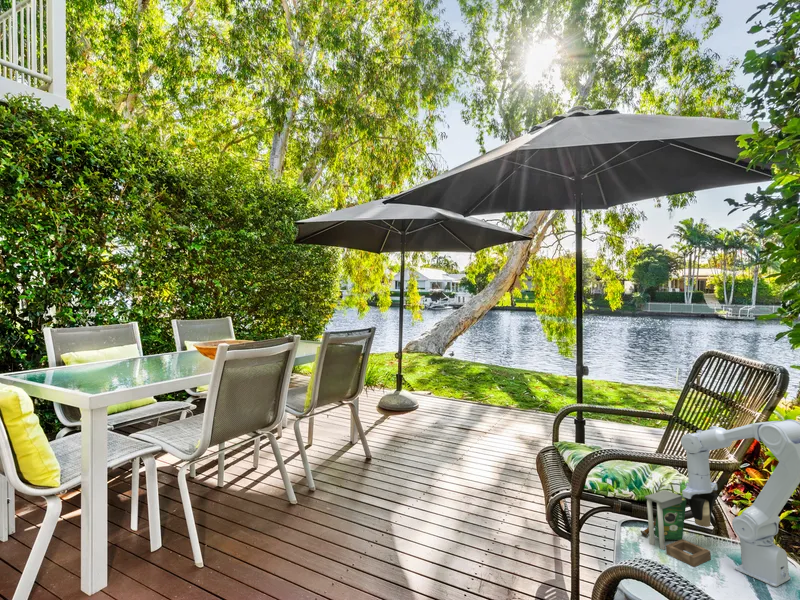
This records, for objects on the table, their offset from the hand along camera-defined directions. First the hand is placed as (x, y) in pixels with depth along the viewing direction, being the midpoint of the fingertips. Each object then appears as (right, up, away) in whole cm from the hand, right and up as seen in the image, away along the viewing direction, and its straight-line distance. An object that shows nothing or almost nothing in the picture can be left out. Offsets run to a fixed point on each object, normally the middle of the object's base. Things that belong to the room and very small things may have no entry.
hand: (702, 517), depth 132 cm
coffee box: (-8, -9, +5) cm, 13 cm away
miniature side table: (-10, -9, +2) cm, 14 cm away
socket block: (-8, -9, -6) cm, 13 cm away
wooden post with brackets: (-11, -10, +9) cm, 17 cm away
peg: (0, -2, 0) cm, 2 cm away
